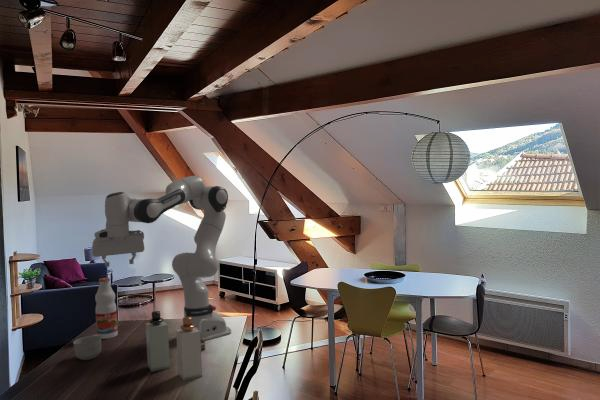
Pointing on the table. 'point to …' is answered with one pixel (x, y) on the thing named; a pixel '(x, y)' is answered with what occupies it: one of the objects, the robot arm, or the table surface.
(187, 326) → the terracotta plunger
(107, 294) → the fruit juice
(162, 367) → the block
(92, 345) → the teacup
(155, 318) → the black plunger
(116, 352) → the table surface
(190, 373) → the block
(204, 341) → the architectural model
